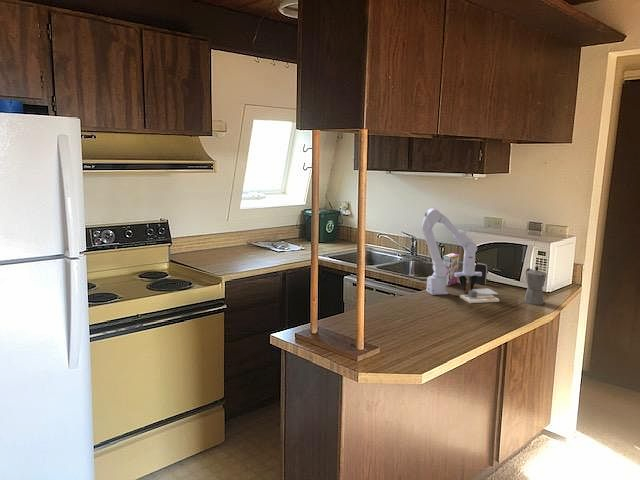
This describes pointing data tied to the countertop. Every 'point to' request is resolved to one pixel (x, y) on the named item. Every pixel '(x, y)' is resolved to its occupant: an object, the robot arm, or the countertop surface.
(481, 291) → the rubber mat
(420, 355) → the countertop surface
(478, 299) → the switch panel
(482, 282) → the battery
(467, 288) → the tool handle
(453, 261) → the candy bar box
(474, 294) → the switch tab
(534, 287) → the coffeepot
